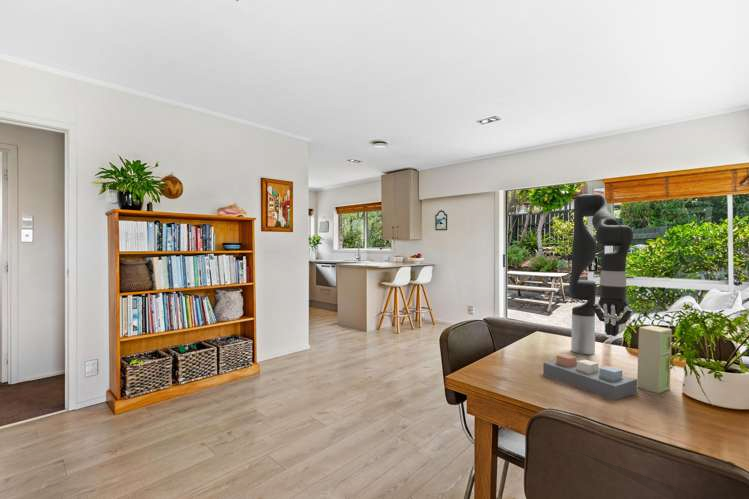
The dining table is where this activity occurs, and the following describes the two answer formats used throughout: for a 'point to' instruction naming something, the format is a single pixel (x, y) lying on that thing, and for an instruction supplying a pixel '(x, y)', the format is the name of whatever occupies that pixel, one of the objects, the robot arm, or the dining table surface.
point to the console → (591, 381)
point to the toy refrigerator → (654, 358)
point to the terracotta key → (566, 360)
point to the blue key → (610, 373)
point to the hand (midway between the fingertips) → (611, 335)
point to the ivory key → (587, 366)
